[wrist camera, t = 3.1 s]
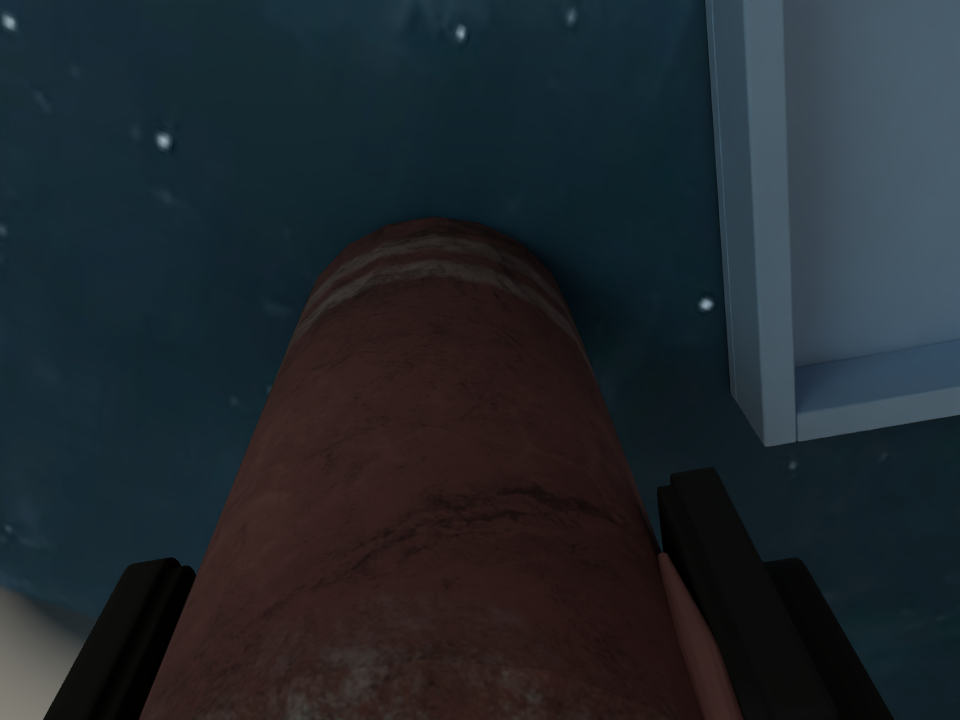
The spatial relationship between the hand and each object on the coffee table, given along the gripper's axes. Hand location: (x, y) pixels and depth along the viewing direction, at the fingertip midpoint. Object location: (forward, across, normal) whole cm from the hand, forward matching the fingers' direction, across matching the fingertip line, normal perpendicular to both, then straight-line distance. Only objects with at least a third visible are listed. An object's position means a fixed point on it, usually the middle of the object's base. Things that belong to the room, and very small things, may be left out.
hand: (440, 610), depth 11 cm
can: (+9, 0, 0) cm, 9 cm away
